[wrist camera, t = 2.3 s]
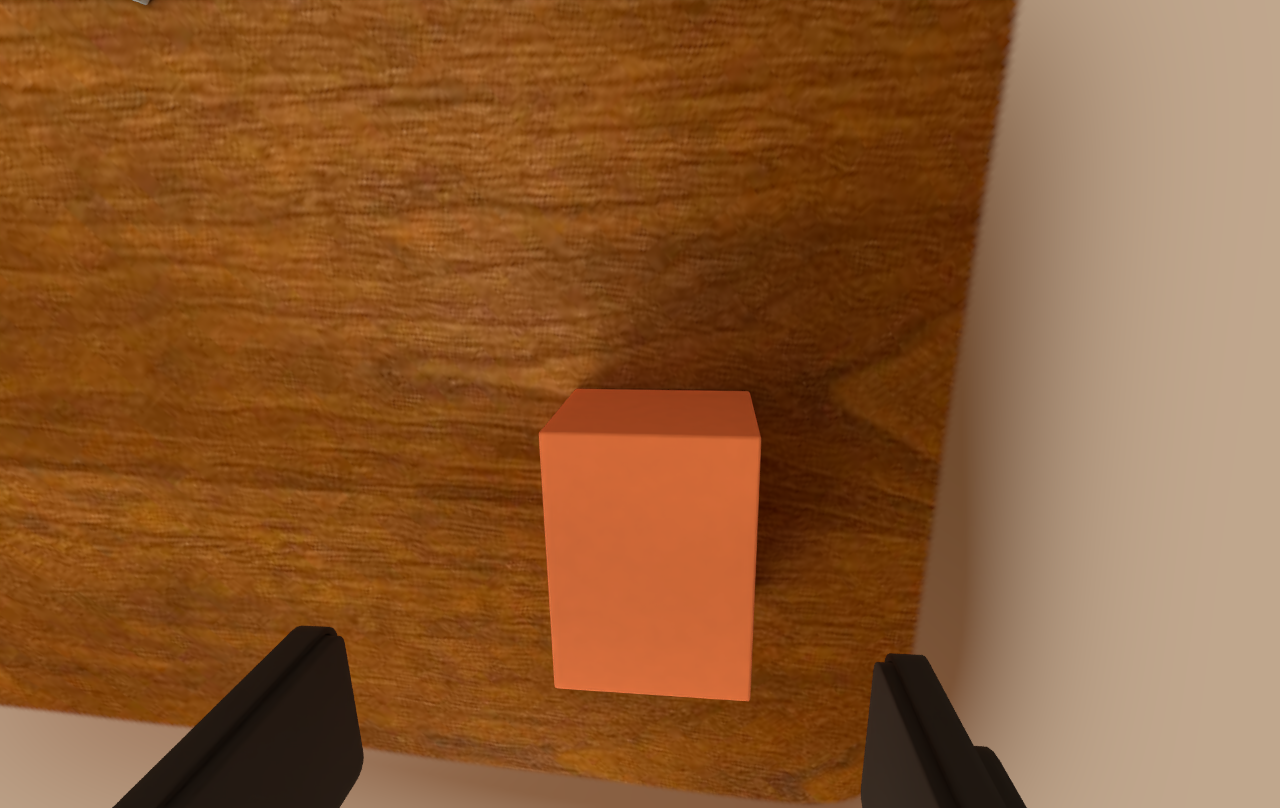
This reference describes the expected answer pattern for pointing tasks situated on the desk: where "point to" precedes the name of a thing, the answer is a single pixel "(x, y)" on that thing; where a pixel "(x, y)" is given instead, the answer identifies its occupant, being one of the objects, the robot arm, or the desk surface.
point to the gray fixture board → (143, 1)
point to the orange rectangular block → (652, 540)
